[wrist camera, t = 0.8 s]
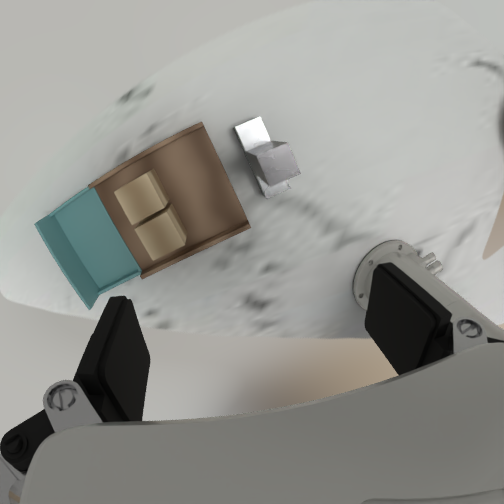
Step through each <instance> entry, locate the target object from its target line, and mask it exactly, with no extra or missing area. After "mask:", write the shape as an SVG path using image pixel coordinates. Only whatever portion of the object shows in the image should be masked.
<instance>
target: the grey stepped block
mask: <svg viewBox="0 0 504 504" xmlns="http://www.w3.org/2000/svg"><path fill="white" fill-rule="evenodd" d="M233 128H234V130H235V133H236V135H237V137H238V139H239V141H240V144H241V146H242V148H243V150H244V153H245V155H246V157H247V159H248V162H249V164H250V166H251V168H252V171H253V173H254V175H255V177H256V180H257V182H258V184H259V186H260V189H261V191H262V193H263V195H264V196H265V197H266V199H268V198H270V197H273V196H275V195H277V194H279V193H282V192H284V191H286V190H288V189H290V186H289V184H288V181H287V179H290V178H292V177H294V176H297V175H299V174H301V173H300V171H299V168H298V165H297V163H296V160H295V158H294V155H293V153H292V150H291V148H290V145H289V143H287V142H278V141H271V140H270V138H269V135H268V133H267V131H266V129H265V126H264V124H263V122H262V119H261V117H258V118H255V119H253V120H250V121H248V122H245V123H243V124H240V125H238V126H236V127H233Z"/></svg>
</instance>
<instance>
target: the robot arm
mask: <svg viewBox="0 0 504 504" xmlns="http://www.w3.org/2000/svg"><path fill="white" fill-rule="evenodd" d="M434 260H436V256H435V254H434V253H433V252H432V253H430V254H428V255H427V256H426V257H424V258H422V257H421V258H420V257H419V256H418V254H417V252H416V250H415V249H414V248H413V247H412V246H410V245H409V244H407V243H405V242H403V241H398V240H394V241H388V242H385V243H383V244H381V245H379V246H377V247H376V248H375V249H373V250H372V251H371V252H370V253H369V254H368V255H367V256H366V257H365V258H364V260H363V261H362V262H361V264H360V266H359V268H358V270H357V272H356V275H355V279H354V287H353V291H354V296H355V298H356V301H357V302H358V303H359V305H360V306H361V307H362V308H363V309H364V310H366V311H367V312H366V318H365V328H366V331H367V332H368V333H369V335H370V336H371V337H372V339H373V340H374V341H375V343H376V344H377V346H378V347H379V348H380V350H381V351H382V352H383V354H384V355H385V357H386V358H387V359H388V361H389V362H390V364H391V365H392V366H393V368H394V369H395V371H396V372H397V374H398V375H399V376H396V377H393V378H390V379H387V380H384V381H382V382H378V383H375V384H372V385H369V386H366V387H362V388H359V389H355V390H352V391H349V392H345V393H341V394H338V395H334V396H330V397H326V398H322V399H318V400H313V401H309V402H305V403H300V404H296V405H290V406H285V407H281V408H275V409H269V410H263V411H257V412H251V413H243V414H236V415H228V416H219V417H209V418H197V419H183V420H166V421H142V416H143V408H144V401H145V392H146V386H147V380H148V373H149V367H150V355H149V351H148V349H147V346H146V343H145V340H144V337H143V334H142V332H141V328H140V325H139V322H138V319H137V316H136V313H135V310H134V306H133V303H132V301H131V299H127V298H126V296H116V297H110V298H109V300H108V303H107V305H106V307H105V309H104V311H103V313H102V315H101V317H100V320H99V322H98V324H97V326H96V328H95V331H94V333H93V334H92V336H91V338H90V340H89V342H88V345H87V347H86V349H85V352H84V354H83V356H82V359H81V361H80V364H79V366H78V369H77V372H76V374H75V376H74V379H73V381H71V380H63V381H59V382H57V383H55V384H53V385H52V386H50V387H49V388H48V390H47V391H46V393H45V394H44V397H43V405H44V408H45V409H44V410H42V411H41V412H39V413H37V414H36V415H34V416H33V417H31V418H29V419H27V420H26V421H24V422H22V423H21V424H19V425H18V426H16V427H14V428H13V429H11V430H10V431H8V432H7V433H6V434H5V435H4V436H3V438H2V441H1V443H0V451H1V454H0V504H504V330H503V329H502V328H500V327H499V326H498V325H496V324H495V323H493V322H492V321H491V320H490V319H488V318H487V317H486V316H484V315H483V314H482V313H481V312H479V311H478V310H477V309H476V308H475V307H473V306H472V305H471V304H470V303H469V302H467V301H466V300H465V299H464V298H462V297H461V296H460V295H459V294H458V293H456V292H455V291H454V290H453V289H451V288H450V287H449V286H447V285H446V284H445V283H444V282H442V281H441V280H440V279H439V278H437V277H436V276H435V275H436V274H437V273H439V272H441V271H442V270H443V267H442V264H441V262H440V261H438V260H437V261H435V262H434V263H432V264H431V265H429V266H428V267H427V268H426V265H427V264H429V263H431V262H433V261H434Z"/></svg>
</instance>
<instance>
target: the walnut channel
mask: <svg viewBox="0 0 504 504" xmlns="http://www.w3.org/2000/svg"><path fill="white" fill-rule="evenodd" d="M152 169H154V170H155V172H156V174H157V176H158V178H159V180H160V182H161V184H162V185H163V187H164V189H165V191H166V193H167V195H168V197H169V199H170V200H169V201H168V203H167V205H169V204H171V203H172V205H173V207H174V209H175V210H176V212H177V214H178V216H179V218H180V220H181V222H182V224H183V225H184V227H185V229H186V231H187V237H186V242H185V245H184V246H182V247H180V248H178V249H176V250H174V251H172V252H170V253H168V254H166V255H164V256H162V257H160V258H158V259H156V260H154V261H153V260H152V258H151V257H150V255H149V253H148V252H147V250H146V248H145V247H144V245H143V243H142V242H141V240H140V238H139V237H138V235H137V233H136V231H135V230H134V229H135V228H136V226H137V225H138V224H139V222H140V221H139V222H137V223H135V224H133V225H132V224H131V223H130V221H129V219H128V217H127V215H126V214H125V212H124V210H123V208H122V206H121V204H120V203H119V201H118V199H117V197H116V195H115V193H114V192H115V191H116V190H118V189H119V188H121V187H122V186H124V185H126V184H127V183H129V182H131V181H133V180H134V179H136V178H138V177H140V176H141V175H143V174H145V173H147V172H149V171H150V170H152ZM88 187H89V189H91V188H93V187H95V189H96V191H97V193H98V195H99V197H100V199H101V201H102V202H103V204H104V206H105V208H106V210H107V212H108V213H109V215H110V217H111V219H112V221H113V222H114V224H115V226H116V228H117V229H118V231H119V233H120V235H121V236H122V238H123V240H124V241H125V243H126V245H127V246H128V248H129V250H130V251H131V253H132V255H133V256H134V258H135V260H136V261H137V263H138V264H139V266H140V268H141V269H142V272H141V275H140V277H141V278H142V279H144V278H146V277H148V276H150V275H152V274H154V273H156V272H158V271H160V270H162V269H164V268H166V267H169V266H171V265H173V264H175V263H177V262H179V261H181V260H183V259H185V258H187V257H190V256H192V255H194V254H196V253H198V252H200V251H202V250H204V249H206V248H209V247H211V246H213V245H215V244H217V243H219V242H221V241H224V240H226V239H228V238H230V237H232V236H234V235H237V234H239V233H241V232H243V231H245V230H247V229H250V228H251V226H250V224H249V222H248V220H247V217H246V215H245V213H244V211H243V209H242V207H241V204H240V202H239V200H238V198H237V196H236V194H235V192H234V189H233V187H232V185H231V183H230V181H229V179H228V176H227V174H226V172H225V170H224V168H223V166H222V164H221V161H220V159H219V157H218V155H217V153H216V151H215V149H214V147H213V144H212V142H211V140H210V138H209V136H208V134H207V132H206V130H205V127H204V125H203V123H202V122H200V123H198V124H196V125H193V126H191V127H189V128H187V129H185V130H183V131H181V132H179V133H177V134H175V135H173V136H171V137H169V138H167V139H165V140H163V141H162V142H160V143H158V144H156V145H154V146H152V147H150V148H149V149H147V150H145V151H143V152H141V153H140V154H138V155H136V156H134V157H133V158H131V159H129V160H128V161H126V162H124V163H123V164H121V165H119V166H118V167H116V168H114V169H113V170H111V171H110V172H108V173H106V174H105V175H103V176H102V177H100V178H99V179H97V180H95V181H94V182H92V183H91V184H89V185H88ZM167 205H166V206H167Z"/></svg>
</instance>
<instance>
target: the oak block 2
mask: <svg viewBox="0 0 504 504" xmlns="http://www.w3.org/2000/svg"><path fill="white" fill-rule="evenodd" d="M134 230H135V231H136V233H137V235H138V237H139V238H140V240H141V242H142V243H143V245H144V247H145V248H146V250H147V252H148V253H149V255H150V257H151V258H152V260H153V261H154V260H156V259H158V258H160V257H162V256H164V255H166V254H168V253H170V252H172V251H174V250H176V249H178V248H180V247H182V246H184V245H185V242H186V237H187V231H186V229H185V227H184V225H183V224H182V222H181V220H180V218H179V216H178V214H177V212H176V210H175V209H174V207H173V205H172V203H171V204H169V205H167V206H165V208H163V209H161V210H159V211H157V212H156V213H154V214H152V215H150V216H148V217H146V218H144V219H143V220H141V221H140V222H139V224H138V225H137V226H136V228H135V229H134Z"/></svg>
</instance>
